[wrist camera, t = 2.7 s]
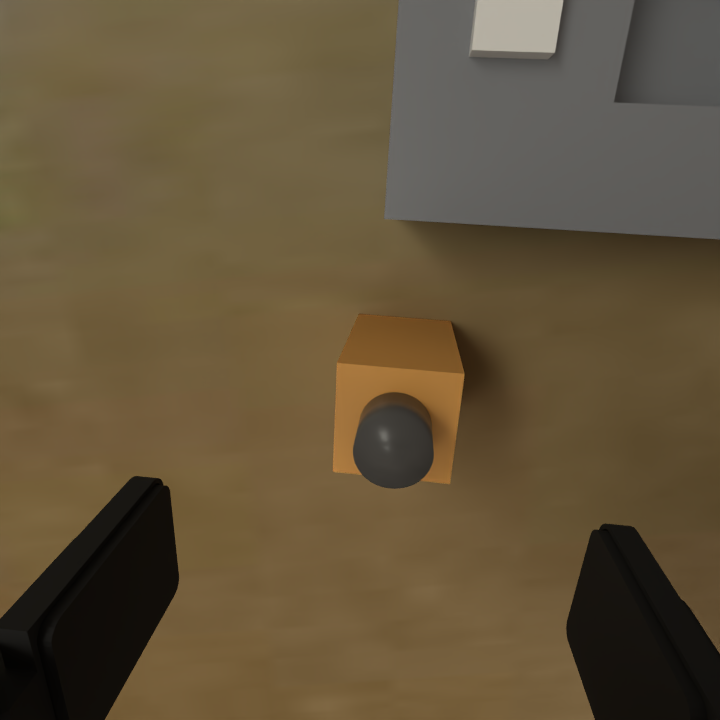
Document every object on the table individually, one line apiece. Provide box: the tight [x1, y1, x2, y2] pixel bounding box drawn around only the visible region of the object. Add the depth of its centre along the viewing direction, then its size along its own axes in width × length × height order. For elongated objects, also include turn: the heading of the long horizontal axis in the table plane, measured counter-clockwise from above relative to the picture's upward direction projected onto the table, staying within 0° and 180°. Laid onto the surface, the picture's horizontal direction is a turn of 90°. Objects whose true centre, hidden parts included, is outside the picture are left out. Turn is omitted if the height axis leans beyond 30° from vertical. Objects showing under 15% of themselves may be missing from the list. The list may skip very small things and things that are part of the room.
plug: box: [333, 314, 465, 489], centre depth 20 cm, size 4×4×9 cm
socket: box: [384, 0, 720, 239], centre depth 16 cm, size 20×14×6 cm
